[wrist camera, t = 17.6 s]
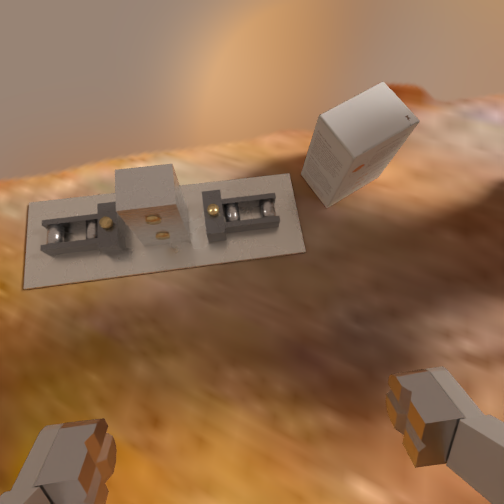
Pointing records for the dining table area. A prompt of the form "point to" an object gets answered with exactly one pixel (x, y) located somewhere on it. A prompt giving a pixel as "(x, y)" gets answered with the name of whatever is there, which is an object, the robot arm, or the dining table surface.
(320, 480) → the dining table surface
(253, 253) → the grey long flat board
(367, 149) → the small box
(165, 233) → the mini drawer chest
